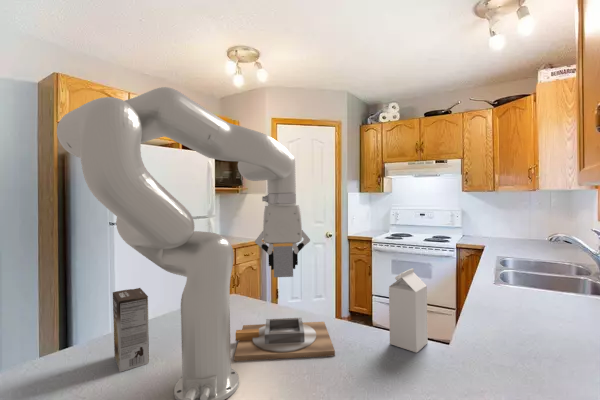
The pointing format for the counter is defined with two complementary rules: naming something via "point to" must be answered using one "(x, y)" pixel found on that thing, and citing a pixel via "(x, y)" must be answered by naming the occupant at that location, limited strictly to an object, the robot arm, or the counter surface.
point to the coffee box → (131, 328)
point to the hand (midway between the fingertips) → (283, 267)
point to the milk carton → (408, 312)
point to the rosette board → (283, 340)
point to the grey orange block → (283, 260)
